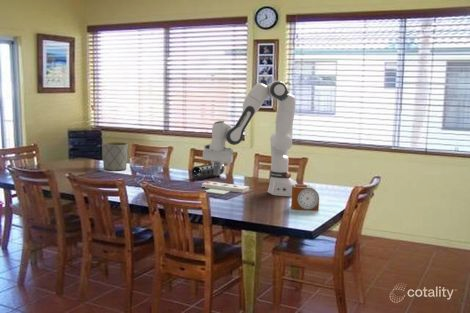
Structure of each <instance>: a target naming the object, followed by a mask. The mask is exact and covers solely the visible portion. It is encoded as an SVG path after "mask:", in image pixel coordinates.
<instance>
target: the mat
mask: <svg viewBox="0 0 470 313" xmlns="http://www.w3.org/2000/svg"><path fill="white" fill-rule="evenodd" d="M205 191H206V192H205V193H211V194H217V195H226V194H228V193H230V192H231V191H225V190H217V189H210V188H207V189H206V190H205Z"/></svg>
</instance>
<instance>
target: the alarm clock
mask: <svg viewBox="0 0 470 313" xmlns="http://www.w3.org/2000/svg"><path fill="white" fill-rule="evenodd" d="M290 207H291V209H292V210H297V211H301V210H302V211H319V210H320V195H319V193H318V191H317V190H316V188H314V187H313V186H311V185H309V184H305V183H304V184H301V183H297V184H295V185H292V197H291V202H290Z"/></svg>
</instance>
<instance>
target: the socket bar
mask: <svg viewBox="0 0 470 313" xmlns="http://www.w3.org/2000/svg"><path fill="white" fill-rule="evenodd" d="M202 187H205V188H204V189H216V190H224V191H230V192H231V193H232V192H234V193H243V194H244V193H245V192H249V191H250V185H249V186H248V185H241V184H232V183H224V182H217V181H209V180H208V181H205V182H202V183H201V188H202Z"/></svg>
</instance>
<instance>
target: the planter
mask: <svg viewBox="0 0 470 313" xmlns="http://www.w3.org/2000/svg"><path fill="white" fill-rule="evenodd" d="M101 145H102V147H101V148H102V149H101V150H102V162H103V164H102V165H103V169H104V170H108V171H111V172H116V171H124V170H126V171H127V166H128V165H127V164H128V149H129V144H128V143H127V142H122V141H121V142H120V141H119V142H118V141H117V142H116V141H113V142H111V141H110V142H102V144H101Z"/></svg>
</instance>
